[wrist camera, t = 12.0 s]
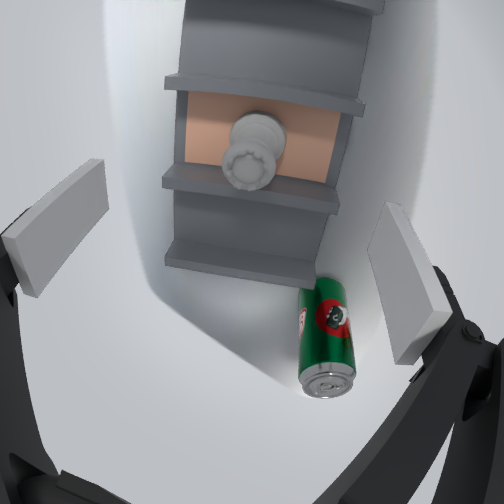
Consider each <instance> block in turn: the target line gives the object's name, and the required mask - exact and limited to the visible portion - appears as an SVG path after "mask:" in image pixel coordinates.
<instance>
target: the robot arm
mask: <svg viewBox="0 0 504 504" xmlns="http://www.w3.org/2000/svg"><path fill="white" fill-rule="evenodd" d="M108 210H109V204H108V196H107V188H106V178H105V167H104V160H103V159H90V160H88V161H87V162H86V163H84V164H83V165H82V166H81V167H79V168H78V169H77V170H75V171H74V172H73V173H71V174H70V175H69V176H68V177H66V178H65V179H64V180H63V181H61V182H60V183H59V184H58V185H56V186H55V187H54V188H53V189H52V190H50V191H49V192H48V193H47V194H46V195H45V196H43V197H42V198H41V199H40V200H39V201H38V202H36V203H35V204H34V205H33V206H31V207H30V208H28V209H26V210H25V211H24V212H23V213H22V214H21V215H20V216H19V217H18V218H17V219H15V220H14V222H13V223H11V224H10V225H9V226H8V227H7V228H6V229H5V230H4V231H3V232H2V233H1V234H0V504H131V503H129V502H127V501H126V500H124V499H122V498H120V497H118V496H116V495H115V494H113V493H111V492H109V491H107V490H106V489H104V488H102V487H100V486H99V485H96V484H94V483H91V482H89V481H86V480H84V479H82V478H79V477H77V476H74V475H72V474H70V473H68V472H66V471H63V470H62V471H61V474H60V475H58V472H57V470H56V468H55V466H54V464H53V462H52V460H51V459H50V457H49V456H48V454H47V453H46V451H45V449H44V447H43V444H42V441H41V438H40V434H39V431H38V427H37V423H36V419H35V415H34V411H33V407H32V403H31V398H30V393H29V389H28V383H27V378H26V372H25V366H24V360H23V353H22V345H21V337H20V328H19V315H18V302H17V293H16V291H15V287H16V286H17V284H18V283H20V286H21V288H22V291H23V293H24V294H26V295H29V296H32V297H35V298H38V297H39V295H40V294H41V293H42V291H43V290H44V288H45V287H46V286H47V284H48V283H49V282H50V280H51V279H52V278H53V276H54V275H55V274H56V272H57V271H58V270H59V268H60V267H61V266H62V265H63V263H64V262H65V261H66V259H67V258H68V257H69V255H70V254H71V253H72V252H73V251H74V250H75V248H76V247H77V246H78V245H79V243H80V242H81V241H82V240H83V238H84V237H85V236H86V235H87V234H88V233H89V231H90V230H91V229H92V228H93V227H94V225H95V224H96V223H97V222H98V221H99V220H100V219H101V218H102V216H103V215H104V214H105V213H106V212H107V211H108ZM367 251H368V255H369V258H370V262H371V265H372V269H373V272H374V276H375V280H376V284H377V287H378V291H379V295H380V299H381V303H382V307H383V311H384V315H385V320H386V324H387V328H388V333H389V337H390V342H391V347H392V352H393V357H394V362H395V364H398V365H414V363H415V362H416V361H417V360H418V358H419V357H420V356H421V355H422V359H423V363H424V364H423V365H422V367H421V368H420V369H419V370H418V371H417V372H416V373H415V375H414V376H413V377H412V378H411V379H410V380H409V381H410V382H411V383H410V385H409V386H408V388H407V389H406V391H405V392H404V394H403V395H402V397H401V398H400V400H399V401H398V402H397V404H396V405H395V407H394V408H393V410H392V411H391V413H390V414H389V415H388V417H387V418H386V419H385V421H384V422H383V424H382V425H381V426H380V427H379V429H378V430H377V431H376V433H375V434H374V435H373V436H372V438H371V439H370V440H369V442H368V443H367V444H366V445H365V447H364V448H363V449H362V450H361V452H360V453H359V454H358V455H357V456H356V457H355V459H354V460H353V461H352V462H351V463H350V464H349V466H348V467H347V468H346V469H345V470H344V471H343V472H342V473H341V474H340V476H339V477H338V478H337V479H336V480H335V481H334V482H333V483H332V484H331V485H330V486H329V487H328V488H327V489H326V491H325V492H324V493H323V494H322V495H321V496H320V497H319V498H318V499H317V500H316V501H315V502H314V503H313V504H407V503H408V502H409V500H410V499H411V497H412V496H413V494H414V493H415V491H416V490H417V488H418V486H419V485H420V483H421V482H422V480H423V479H424V477H425V475H426V474H427V472H428V470H429V469H430V467H431V465H432V464H433V462H434V460H435V458H436V456H437V455H438V453H439V451H440V449H441V447H442V445H443V444H444V442H445V440H446V438H447V436H448V434H449V432H450V430H451V428H452V426H453V424H454V427H453V431H452V436H451V440H450V444H449V448H448V452H447V456H446V459H445V463H444V466H443V470H442V473H441V477H440V480H439V483H438V486H437V489H436V492H435V495H434V498H433V501H432V503H431V504H504V338H503V339H502V340H501V342H500V343H499V344H498V345H496V344H493V343H491V342H488V341H486V340H485V338H484V335H483V332H482V331H481V329H480V328H479V327H478V326H477V325H476V324H475V323H473V322H471V321H470V320H466V319H465V318H464V315H463V313H462V311H461V308H460V306H459V304H458V301H457V299H456V297H455V295H453V290H452V288H451V287H450V284H449V282H448V280H447V278H446V276H445V275H444V273H443V272H442V271H441V270H440V269H439V268H438V267H437V266H432V265H431V263H430V260H429V258H428V256H427V254H426V252H425V250H424V248H423V246H422V244H421V243H420V240H419V238H418V237H417V235H416V233H415V231H414V229H413V227H412V225H411V223H410V222H409V220H408V218H407V216H406V214H405V213H404V211H403V209H402V207H401V205H399V204H395V203H391V202H387V201H385V204H384V206H383V209H382V212H381V215H380V218H379V220H378V223H377V226H376V228H375V231H374V234H373V236H372V239H371V242H370V244H369V247H368V249H367ZM454 421H455V422H454Z"/></svg>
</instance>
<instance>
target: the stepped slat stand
mask: <svg viewBox="0 0 504 504" xmlns="http://www.w3.org/2000/svg"><path fill="white" fill-rule="evenodd" d="M384 3H385V1H383V0H186V2H185V10H184V19H183V28H182V37H181V47H180V59H179V71H178V73H176V74H172V75H169V76H165V83H164V90H177V100H176V119H175V146H174V164H173V165H172V166H171V167H170V168H169V170H168V171H167V172H166V173H165V174H164V175H163V176H162V188H166V189H174V240H173V242H172V244H171V246H170V248H169V250H168V252H167V253H166V255H165V265H166V266H172V267H177V268H183V269H188V270H194V271H200V272H206V273H212V274H217V275H223V276H229V277H235V278H241V279H248V280H254V281H260V282H266V283H273V284H279V285H285V286H292V287H298V288H305V289H312V290H314V287H315V284H316V273H315V259H316V255H317V252H318V248H319V245H320V242H321V238H322V235H323V231H324V228H325V224H326V221H327V217H328V214H333V215H337V213H338V209H339V206H340V202H339V199H338V195H337V192H336V189H335V187H336V184H337V180H338V176H339V172H340V168H341V164H342V160H343V156H344V152H345V148H346V144H347V139H348V135H349V131H350V126H351V122H352V118H353V115H354V116H358V117H363V113H364V108H365V104H364V103H363V102H361V101H360V100H359V99H357V95H358V90H359V85H360V80H361V75H362V70H363V65H364V60H365V55H366V49H367V44H368V38H369V33H370V27H371V21H372V17H374V16H377V15H379V14H382V13H383V9H384ZM255 110H259V111H266V112H269V113H271V114H272V115H274V116H276V117H277V118H278V119H279V120H280V121H281V123H282V124H283V125H284V127H285V131H286V135H287V140H286V145H285V148H284V151H283V153H282V154H281V155H280V157H279V158H278V159H277V160H276V161H275V162H276V170H275V175H274V177H273V178H272V180H271V181H270V183H269V184H267V185H266V186H264V187H262V188H261V189H256V190H254V191H249V192H248V190H243V189H240V190H238V189H237V188H235V187H233V185H232V184H231V183H230V182H229V181H228V180H227V178H226V177H225V176H224V173H223V170H222V158H223V155H224V154H225V152H226V150H227V149H228V148H229V147H230V143H229V138H230V131H231V128H232V126H233V124H234V123H235V121H236V119H237V118H239V117H240V116H242V115H243V114H244V113H246V112H251V111H255Z"/></svg>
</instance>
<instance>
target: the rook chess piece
mask: <svg viewBox="0 0 504 504" xmlns="http://www.w3.org/2000/svg"><path fill="white" fill-rule="evenodd" d="M286 140H287V135H286V131H285V127H284V125H283V124H282V123H281V121H280V120H279V119H278V118H277V117H276V116H274V115H272V114H271V113H269V112H266V111H259V110H255V111H251V112H246V113H244V114H243V115H242V116H240V117H239V118H237V119H236V121H235V123H234V124H233V126H232V128H231V131H230V138H229V143H230V147H229V148H228V149H227V150H226V152H225V154H224V155H223V158H222V170H223V173H224V176H225V177H226V178H227V180H228V181H229V182H230V183H231V184H232V185H233V187H235V188H237V189H238V190H240V189H243V190H248V192H249V191H254V190H256V189H261V188H262V187H264V186H266V185H267V184H269V183H270V181H271V180H272V178H273V177H274V175H275V170H276V162H275V161H276V160H277V159H278V158H279V157H280V155H281V154H282V153H283V151H284V148H285V145H286Z"/></svg>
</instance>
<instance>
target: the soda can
mask: <svg viewBox="0 0 504 504" xmlns="http://www.w3.org/2000/svg"><path fill="white" fill-rule="evenodd" d="M355 377H356V366H355V358H354V350H353V342H352V334H351V327H350V320H349V313H348V307H347V300H346V294H345V290H344V287H343V286H342V285H341V284H340V283H339V282H338V281H336V280H333V279H330V278H317V279H316V284H315V287H314V290H312V289H305V288H302V289H301V290H300V293H299V369H298V379H299V382H300V383H301V384H302V385H303V386H302V388H303V391H304V392H305V393H306V394H307V395H309V396H311V397H315V398H323V399H326V398H334V397H338V396H341V395H343V394H345V393H347V392H348V391H349V390H350V389H351V388H352V386H353V380H354V379H355Z"/></svg>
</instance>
